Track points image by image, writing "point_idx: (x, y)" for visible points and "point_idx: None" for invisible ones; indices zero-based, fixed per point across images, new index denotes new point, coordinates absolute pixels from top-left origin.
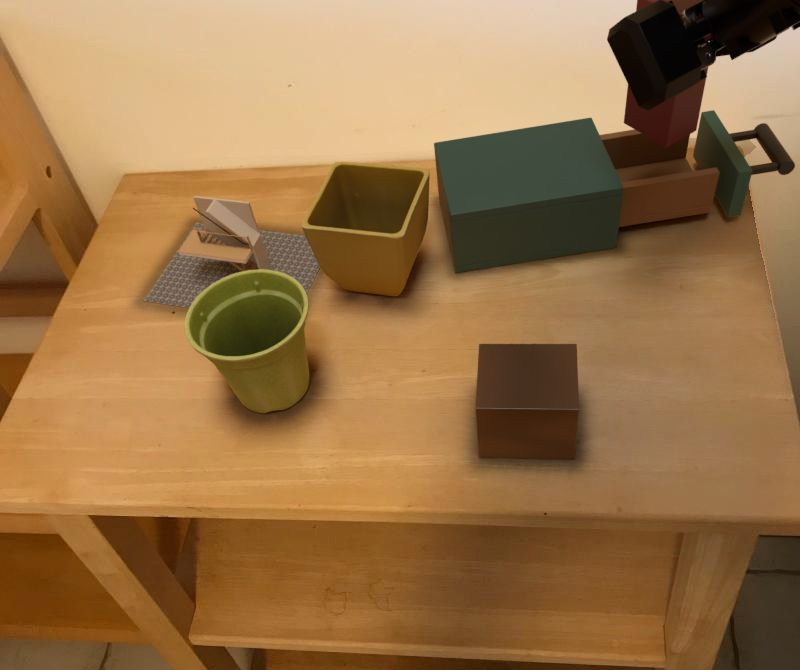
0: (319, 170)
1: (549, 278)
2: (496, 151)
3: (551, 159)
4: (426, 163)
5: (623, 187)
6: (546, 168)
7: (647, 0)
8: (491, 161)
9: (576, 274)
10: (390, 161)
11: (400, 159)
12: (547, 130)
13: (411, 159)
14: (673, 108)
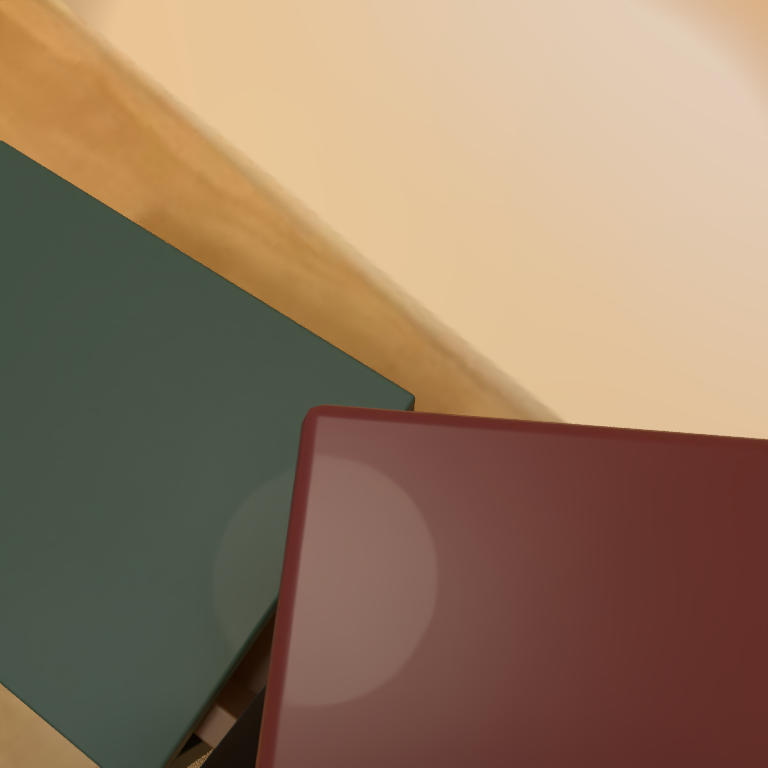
0: (27, 7)
1: (2, 687)
2: (65, 299)
3: (130, 462)
4: (190, 140)
5: (210, 746)
6: (77, 486)
7: (286, 637)
8: (7, 325)
9: (58, 735)
10: (145, 82)
11: (164, 91)
12: (258, 339)
13: (180, 107)
14: None
